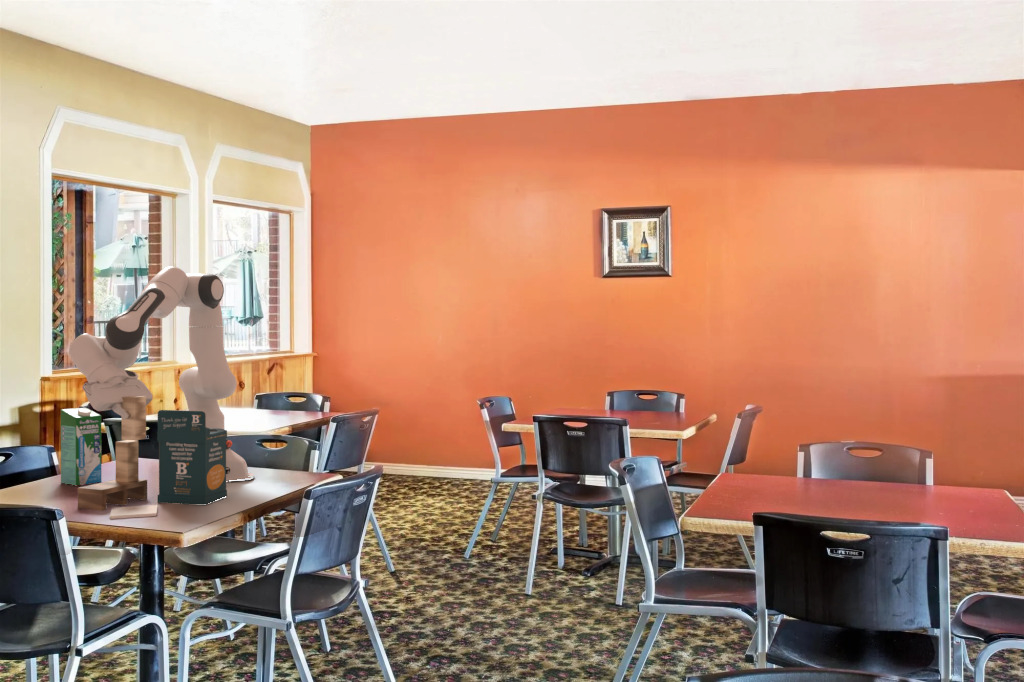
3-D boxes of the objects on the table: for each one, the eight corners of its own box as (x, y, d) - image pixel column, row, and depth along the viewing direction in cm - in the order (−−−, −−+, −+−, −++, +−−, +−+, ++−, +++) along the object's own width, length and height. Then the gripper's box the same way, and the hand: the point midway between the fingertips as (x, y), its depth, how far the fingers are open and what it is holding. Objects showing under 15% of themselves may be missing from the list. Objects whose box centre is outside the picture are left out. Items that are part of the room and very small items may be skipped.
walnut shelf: (124, 497, 274) (123, 477, 274) (147, 499, 271) (147, 479, 271) (77, 508, 257) (77, 487, 257) (102, 510, 254) (102, 489, 254)
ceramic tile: (157, 507, 258) (157, 504, 258) (156, 516, 247) (156, 513, 247) (112, 510, 254) (112, 507, 254) (109, 519, 243) (109, 516, 243)
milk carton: (76, 486, 291) (76, 410, 291) (60, 483, 296) (60, 409, 296) (101, 482, 299) (101, 408, 298) (85, 479, 304) (85, 407, 303)
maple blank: (133, 437, 253) (133, 396, 253) (145, 438, 252) (146, 396, 252) (121, 439, 249) (121, 397, 249) (134, 440, 247) (134, 397, 247)
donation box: (157, 502, 266) (157, 409, 265) (188, 492, 281) (188, 405, 281) (205, 505, 262) (205, 411, 261) (234, 495, 278) (234, 406, 277)
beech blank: (126, 478, 272) (126, 440, 271) (138, 479, 270) (138, 440, 270) (115, 481, 267) (115, 441, 267) (127, 482, 266) (127, 442, 266)
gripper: (85, 375, 243) (114, 412, 239) (140, 372, 262) (166, 406, 259) (73, 391, 244) (101, 428, 241) (128, 386, 263) (154, 420, 260)
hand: (135, 416), depth 250 cm, fingers closed on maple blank, 4 cm apart
